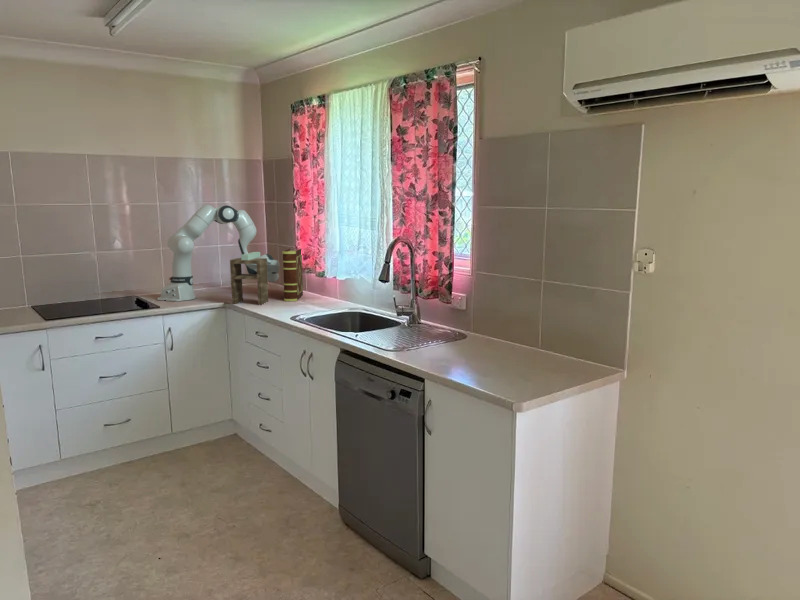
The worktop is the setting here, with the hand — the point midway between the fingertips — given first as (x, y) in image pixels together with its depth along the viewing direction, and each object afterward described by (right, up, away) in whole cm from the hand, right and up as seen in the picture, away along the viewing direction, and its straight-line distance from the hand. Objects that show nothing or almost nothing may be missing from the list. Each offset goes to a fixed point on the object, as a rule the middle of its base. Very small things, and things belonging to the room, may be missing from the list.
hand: (258, 259), depth 361 cm
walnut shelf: (-2, -27, -11) cm, 29 cm away
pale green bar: (-2, 0, -12) cm, 12 cm away
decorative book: (+20, -24, +5) cm, 32 cm away
